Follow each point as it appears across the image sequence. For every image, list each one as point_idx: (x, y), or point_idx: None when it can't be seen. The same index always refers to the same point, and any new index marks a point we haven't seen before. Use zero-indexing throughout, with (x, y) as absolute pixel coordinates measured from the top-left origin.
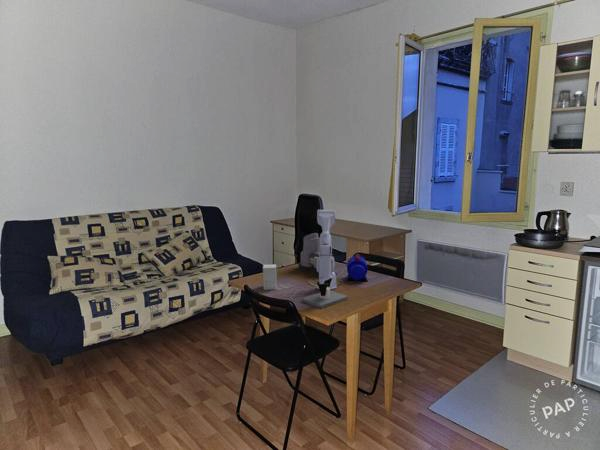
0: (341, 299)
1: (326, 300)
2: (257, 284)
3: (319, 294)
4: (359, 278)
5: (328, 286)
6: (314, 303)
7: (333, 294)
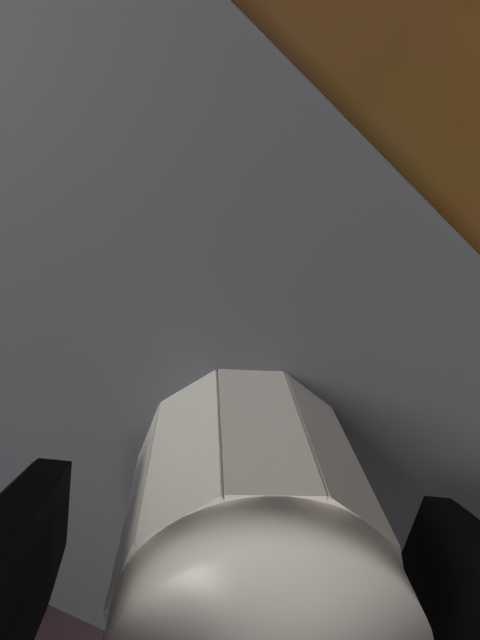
0: (284, 64)
1: (436, 408)
2: None
3: (92, 557)
4: None
5: (6, 589)
6: None
7: (11, 294)
